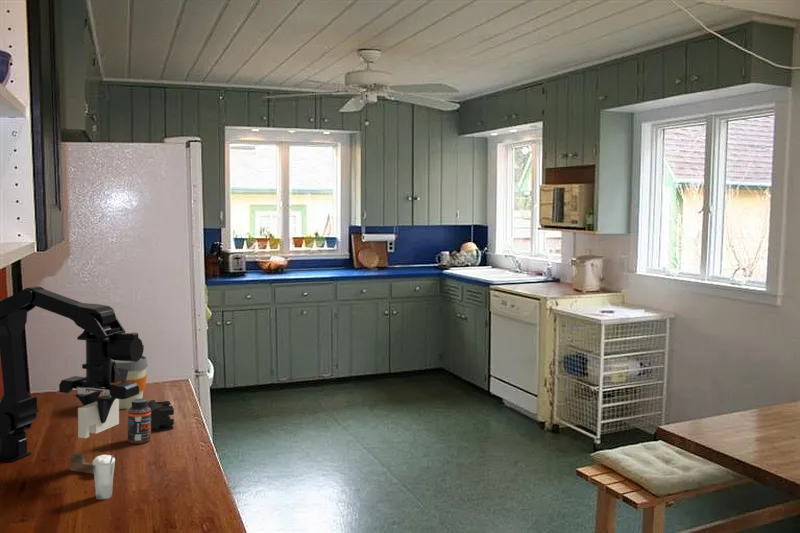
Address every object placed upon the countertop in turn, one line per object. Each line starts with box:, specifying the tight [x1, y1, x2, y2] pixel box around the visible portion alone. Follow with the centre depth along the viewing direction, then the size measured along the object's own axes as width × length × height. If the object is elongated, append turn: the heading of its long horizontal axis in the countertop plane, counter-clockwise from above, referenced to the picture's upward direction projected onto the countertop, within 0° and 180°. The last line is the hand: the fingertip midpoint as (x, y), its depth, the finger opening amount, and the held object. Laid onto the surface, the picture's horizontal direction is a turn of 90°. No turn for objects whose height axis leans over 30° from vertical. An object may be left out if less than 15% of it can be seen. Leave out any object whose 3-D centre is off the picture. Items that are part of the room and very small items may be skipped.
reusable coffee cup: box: [112, 355, 148, 410], centre depth 224 cm, size 13×13×15 cm
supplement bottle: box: [127, 397, 152, 445], centre depth 191 cm, size 6×6×11 cm
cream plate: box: [77, 399, 120, 439], centre depth 171 cm, size 12×2×7 cm, turn 164°
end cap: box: [147, 399, 175, 432], centre depth 204 cm, size 10×7×7 cm
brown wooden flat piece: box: [69, 452, 99, 475], centre depth 168 cm, size 10×1×4 cm, turn 74°
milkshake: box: [91, 454, 116, 501], centre depth 154 cm, size 4×5×10 cm
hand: (99, 422), depth 171 cm, fingers closed on cream plate, 2 cm apart
